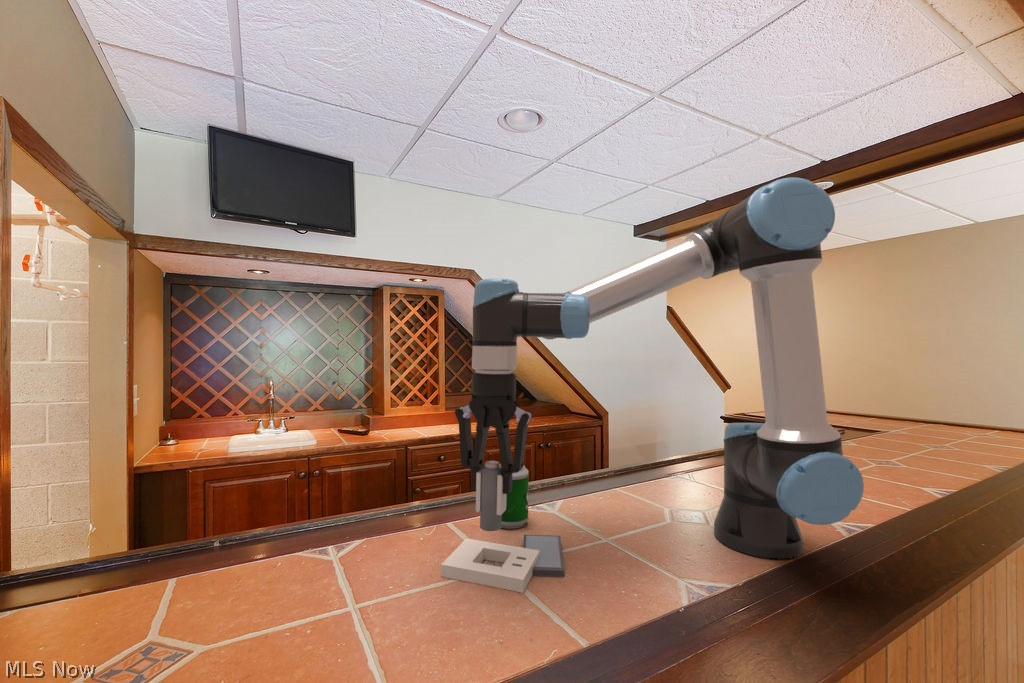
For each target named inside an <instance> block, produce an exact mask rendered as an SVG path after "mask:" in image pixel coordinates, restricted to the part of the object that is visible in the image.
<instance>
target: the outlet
mask: <svg viewBox="0 0 1024 683" xmlns="http://www.w3.org/2000/svg"><path fill="white" fill-rule="evenodd" d="M539 556H540V550H534V549H528V548H523V547H521V546H515V545H509V544H502V543H498V542H497V543H496V542H490V541H484V540H478V539H473V538H465V539H464V540H463V541H462V542H461V543H460V544H459V546H457V547H456V548H455V549H454V550H453V551H452V553H450V555H449V556H448V557H447V558H446V559H445V560H444V561H443V562H442V563H441V564H440V577H441V578H447V579H451V580H456V581H462V582H466V583H471V584H476V585H482V586H487V587H493V588H497V589H502V590H507V591H513V592H517V593H522V594H523V593H524V592H525V590H526V588H527V586H528V585H529V583H530V581H531V579H532V577H533V576H532V569H533V568H534V565H535V563H536V561H537V560H538V558H539ZM484 560H487V561H490V562H491V561H492V562H496V563H501V564H502V563H503V564H502V566H501V567H500V566H497V565H490V564H486V563H482V562H483V561H484Z"/></svg>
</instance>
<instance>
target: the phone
mask: <svg viewBox="0 0 1024 683" xmlns="http://www.w3.org/2000/svg"><path fill="white" fill-rule="evenodd" d="M522 546H523V547H522V548H528V549H534V550H540V556H539V558H538V560H537V561H536V563H535V565H534V568H533V569H532V577H533V576H537V577H539V576H540V577H558V578H559V577H560V578H562V577H563V578H565V564H564V563H565V562H564V555H563V548H562V540H561V535H552V534H551V535H550V534H549V535H546V534H523V544H522Z"/></svg>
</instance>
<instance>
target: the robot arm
mask: <svg viewBox="0 0 1024 683" xmlns="http://www.w3.org/2000/svg"><path fill="white" fill-rule="evenodd" d="M835 221H836V212H835V206H834V203H833V201H832V199H831V197H830V196H829V194H828V193H827V192H826V191H825V190H824V188H822V187H821V186H818V185H816V184H815V183H814V182H813V181H812V180H809V179H805V178H802V177H795V176H794V177H792V176H791V177H785V178H783V177H782V178H780V179H776V180H773V181H772V182H770V183H768V184H765V185H763V186H761V187H759V188H758V189H756V190H755V191H754V192H752V194H751V195H749V196H747V197H746V198H745V199H743V200H741V201H740V202H738V203H737V204H735V205H733V206H732V207H731V208H729V209H728V210H726V211H724V213H722V214H721V215H719V216H718V217H716V218H715V219H714V220H713V221H711V222H709V223H707V224H706V225H704V226H703V227H701V228H699V229H696V230H694V231H692V232H690V233H687V235H686V237H685V240H684V241H682V242H680V243H677V244H675V245H672V246H671V247H668V248H666V249H663V250H660V251H659V252H657V253H654V254H652V255H649V256H647V257H645V258H643V259H640V260H638V261H635V262H633V263H631V264H629V265H626V266H623V267H621V268H619V269H616V270H615V271H612V272H610V273H607V274H605V275H602V276H601V277H598V278H596V279H594V280H591V281H588V282H587V283H584V284H582V285H579V286H577V287H575V288H573V289H570V290H568V291H566V292H563V293H560V292H558V293H557V292H556V293H555V292H553V293H549V292H547V293H546V292H543V293H542V292H541V293H540V292H538V293H537V292H523V291H520V289H519V284H518V282H517V281H516V280H513V279H502V278H484V279H481V280H477V282H476V283H475V285H474V294H473V304H472V352H471V353H472V354H471V369H473V370H474V372H472V374H471V389H470V390H471V397H470V400H469V402H468V405H466V406H462V407H459V408H456V409H455V410H454V413H455V414H454V415H455V417H456V419H457V422H458V435H459V450H460V451H459V452H460V465H461V466H462V467H464V468H465V467H466V468H467V469H469V470H470V471H471V477H470V479H471V480H470V481H471V484H470V485H471V487H470V488H471V489H472V490H473V491H475V512H476V513H480V511H481V467H482V466H484V465H485V463H484V458H485V452H486V447H487V441H488V434H489V430H490V429H491V428H494V429H495V434H496V436H497V443H498V451H499V457H500V458H499V459H500V464H501V469H502V472H501V473H500V474H499V475H497V515H502V514H503V512H504V511H505V510H506V495H507V494H509V493H510V492H511V490H512V474H513V473H517V472H519V471H520V470H521V469H522V468H523V466H525V457H526V456H525V455H526V446H527V437H528V427H529V424H530V422H531V420H532V418H533V413H532V411H526V410H523V409H522V408H520V407H519V404H518V402H517V397H516V396H517V395H516V394H517V375H516V373H514V372H513V371H515V370H517V356H518V354H517V352H518V351H517V348H518V347H517V346H518V345H517V344H518V343H517V340H518V337H521V338H542V339H545V340H555V339H566V340H571V339H582V338H585V337H586V336H588V333H589V329H590V324H591V323H593V322H596V321H598V320H601V319H604V318H605V317H607V316H610V315H613V314H615V313H617V312H619V311H622V310H624V309H626V308H629V307H631V306H634V305H636V304H639V303H640V302H643V301H646V300H648V299H651V298H653V297H655V296H657V295H661V294H662V293H665V292H667V291H670V290H672V289H674V288H676V287H679V286H681V285H683V284H686V283H688V282H691V281H692V280H696V279H698V278H701V279H703V280H708V279H711V278H714V277H715V276H719V275H722V274H725V273H728V272H731V271H735V270H739V274H740V276H741V277H743V278H745V279H746V280H747V281H748V282H750V286H751V296H752V305H753V316H754V324H755V325H754V326H755V332H756V333H755V334H756V342H757V344H756V345H757V352H758V362H759V363H758V364H759V371H760V382H761V391H762V399H763V408H764V418H765V422H764V423H763V422H730V423H728V424H727V425H726V427H725V430H724V437H723V446H724V447H723V452H724V453H723V454H724V456H723V464H724V465H723V470H724V471H723V486H724V487H723V498H722V500H721V504H720V506H719V508H718V511H717V514H716V516H715V518H714V522H713V534H714V537H715V538H716V539H717V540H718V541H719V542H720V543H722V545H725V546H727V547H728V548H731V549H732V550H734V551H738V552H740V553H742V554H746V555H750V556H752V557H753V556H754V557H758V558H764V559H769V558H778V559H777V560H782V559H781V558H791V557H795V558H797V557H796V556H798V555H800V554H801V553H802V551H803V552H804V538H803V536H802V532H801V530H800V526H799V524H798V520H800V521H802V522H805V523H806V524H811V525H817V526H826V525H827V526H829V525H832V524H836V523H838V522H841V521H843V520H844V519H846V518H848V517H849V516H850V513H851V512H852V511H855V510H856V509H857V508H858V506H859V505H860V503H861V501H862V499H863V494H864V490H865V484H864V478H863V475H862V472H861V471H860V469H859V468H858V466H857V465H856V464H854V462H853V461H852V460H851V459H849V457H846V456H844V453H843V445H842V436H841V433H840V431H838V430H837V429H835V428H834V427H833V426H832V425H831V424H829V422H828V414H827V404H826V397H825V386H824V385H825V384H824V378H823V377H824V376H823V368H822V367H823V365H822V360H821V359H822V358H821V349H820V340H819V330H818V320H817V310H816V309H817V308H816V302H815V294H814V293H815V291H814V284H813V283H814V282H813V273H814V272H815V270H816V269H817V268H818V267H819V265H820V264H822V262H823V255H822V248H821V243H823V241H824V240H826V239H827V237H828V235H829V233H830V232H832V230H833V228H834V225H835ZM472 415H473V417H474V418H475V419H476V421H477V422H476V427H475V431H476V433H475V439H474V443H473V438H472V437H473V435H472V434H473V433H472V420H471V417H472ZM514 415H515V417H516V418H515V422H516V423H517V425H516V431H515V440H514V450H513V454H512V448H511V438H510V421H511V420H512V419H513V417H514ZM473 444H474V445H473ZM797 519H798V520H797ZM802 554H803V553H802ZM802 554H801V555H802ZM801 555H800V556H801ZM798 557H799V556H798ZM791 559H792V558H791Z"/></svg>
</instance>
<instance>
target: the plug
mask: <svg viewBox="0 0 1024 683" xmlns="http://www.w3.org/2000/svg"><path fill="white" fill-rule="evenodd" d="M499 464H500V462H499V461H496V460H487V461H485V462H484V466H482V467H481V511H480V512H479V529H481V530H482V531H486V532H496V531H499V530H501V528H502V527H501V518H502V515H497V475H499V474H500V473H501V472H502V469H501V466H500V465H499Z"/></svg>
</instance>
